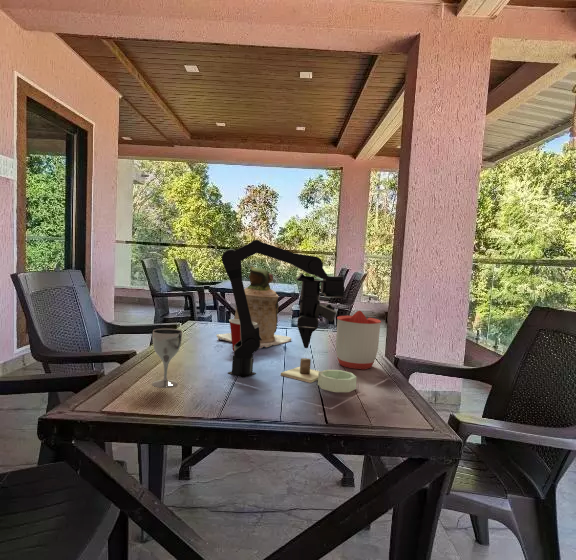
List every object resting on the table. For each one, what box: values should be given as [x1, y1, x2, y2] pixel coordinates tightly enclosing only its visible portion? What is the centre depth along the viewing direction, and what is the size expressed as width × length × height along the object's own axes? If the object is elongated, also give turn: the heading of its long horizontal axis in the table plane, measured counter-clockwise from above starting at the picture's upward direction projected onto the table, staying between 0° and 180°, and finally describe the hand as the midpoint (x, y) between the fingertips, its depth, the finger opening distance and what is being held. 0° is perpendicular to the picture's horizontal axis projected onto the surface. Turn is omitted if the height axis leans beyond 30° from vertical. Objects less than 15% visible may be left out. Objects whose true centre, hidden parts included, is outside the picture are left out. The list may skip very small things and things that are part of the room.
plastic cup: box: [228, 318, 257, 353], centre depth 175 cm, size 11×11×12 cm
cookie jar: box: [215, 265, 293, 349], centre depth 197 cm, size 25×25×32 cm
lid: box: [280, 357, 321, 384], centre depth 147 cm, size 11×11×5 cm
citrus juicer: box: [335, 310, 382, 371], centre depth 166 cm, size 16×17×20 cm
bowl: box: [317, 369, 358, 393], centre depth 137 cm, size 10×10×4 cm
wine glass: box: [151, 328, 183, 389], centre depth 130 cm, size 8×8×15 cm
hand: (306, 345), depth 146 cm, fingers open, 9 cm apart
